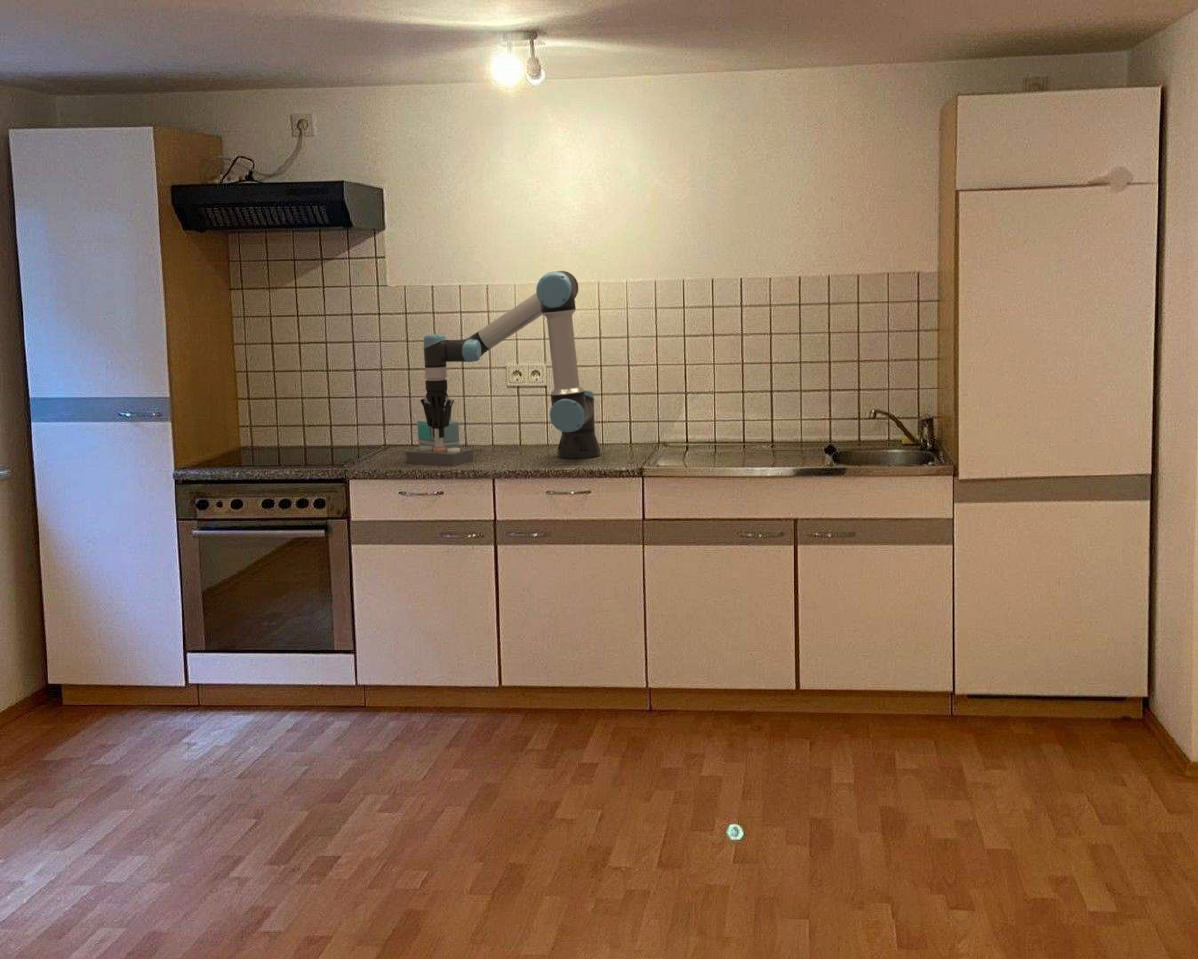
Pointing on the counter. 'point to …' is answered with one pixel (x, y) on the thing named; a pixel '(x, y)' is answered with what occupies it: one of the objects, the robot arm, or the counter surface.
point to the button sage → (425, 448)
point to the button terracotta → (439, 449)
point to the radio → (428, 440)
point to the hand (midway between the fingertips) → (439, 446)
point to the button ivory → (453, 450)
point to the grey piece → (439, 457)
